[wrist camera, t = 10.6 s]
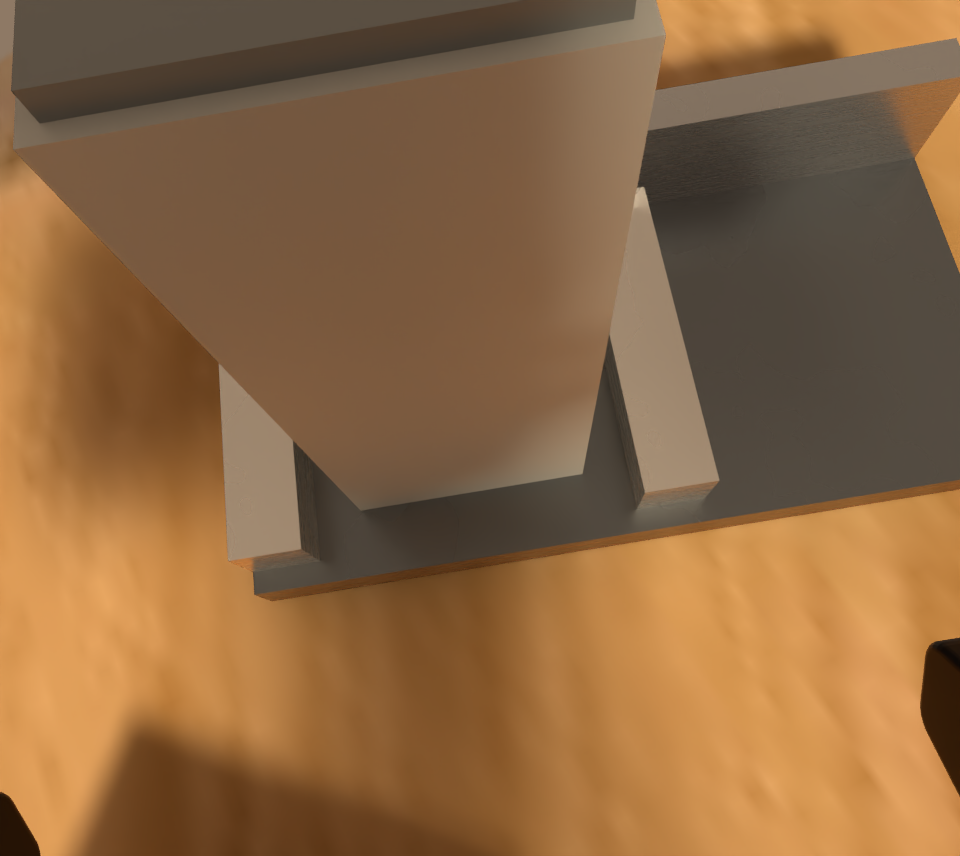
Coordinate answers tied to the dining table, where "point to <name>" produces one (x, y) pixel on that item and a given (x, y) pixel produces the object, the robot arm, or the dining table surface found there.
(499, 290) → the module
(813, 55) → the dining table surface
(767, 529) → the dining table surface
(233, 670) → the dining table surface
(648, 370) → the grey dock tray
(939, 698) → the robot arm
